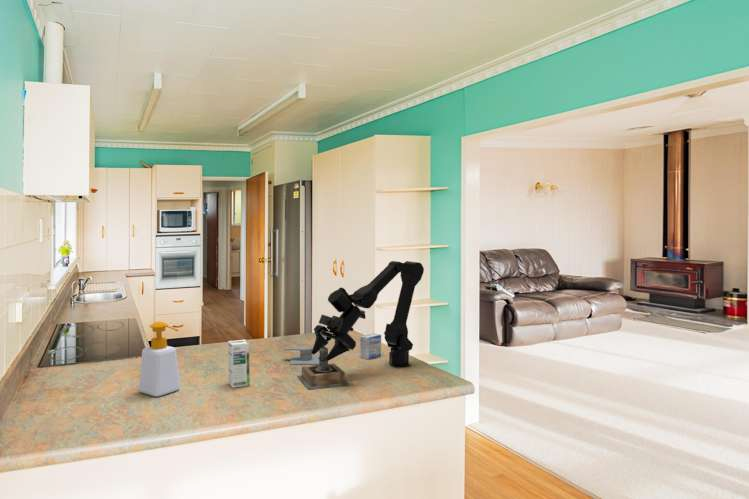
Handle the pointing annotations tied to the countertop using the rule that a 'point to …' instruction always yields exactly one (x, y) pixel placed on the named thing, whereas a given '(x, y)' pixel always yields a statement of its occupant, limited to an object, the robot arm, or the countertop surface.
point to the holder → (322, 377)
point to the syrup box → (238, 363)
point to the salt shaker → (323, 362)
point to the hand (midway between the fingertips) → (319, 356)
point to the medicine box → (370, 346)
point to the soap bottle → (159, 365)
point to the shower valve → (303, 356)
